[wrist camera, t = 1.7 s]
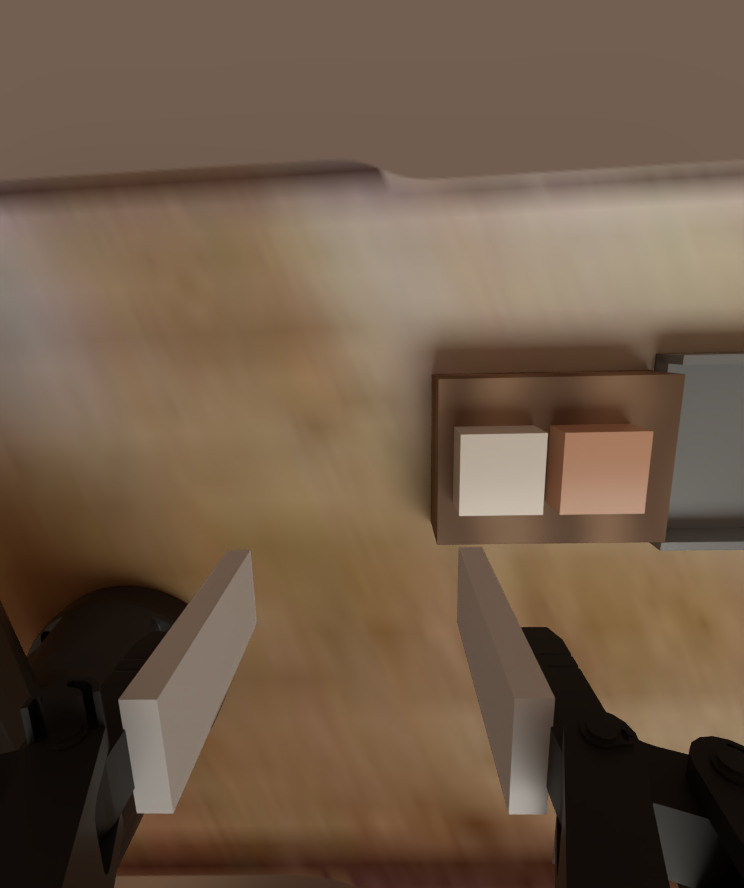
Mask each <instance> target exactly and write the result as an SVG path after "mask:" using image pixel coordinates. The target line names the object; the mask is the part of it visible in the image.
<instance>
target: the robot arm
mask: <svg viewBox="0 0 744 888" xmlns="http://www.w3.org/2000/svg"><path fill="white" fill-rule="evenodd" d="M457 623H458V627H459V631H460V635H461V638H462V642H463V646H464V649H465V653H466V657H467V661H468V664H469V668H470V672H471V676H472V679H473V683H474V687H475V691H476V694H477V698H478V702H479V705H480V709H481V713H482V717H483V720H484V724H485V728H486V732H487V735H488V739H489V743H490V747H491V750H492V754H493V758H494V761H495V765H496V769H497V773H498V776H499V780H500V784H501V788H502V791H503V795H504V799H505V803H506V806H507V810H508V814H547V801H548V793H549V795H550V798H551V801H552V804H553V806H554V809H555V812H556V814H557V816H556V829H555V841H554V854H553V864H555V888H670V885H669V880H670V881H673V882H676V883H677V884H678V886H679V888H744V746H742V745H740V744H738V743H735V742H733V741H731V740H728V739H723V738H719V737H714V736H710V737H699V738H698V739H696V740H695V741H693V742H692V743H691V746H690V750H689V755H688V754H684V753H680V752H676V751H672V750H668V749H664V748H660V747H656V746H653V745H650V744H647V743H644V742H642V741H640V740H638V737H637V735H636V733H635V732H634V731H633V730H632V729H631V728H630V727H629V726H628V725H627V724H626V723H625V722H624V721H622V720H621V719H619V718H617V717H616V716H614V715H613V714H610V713H607V712H606V711H605V710H604V708H603V706H602V705H601V703H600V701H599V700H598V698H597V696H596V695H595V693H594V691H593V690H592V688H591V686H590V685H589V683H588V681H587V680H586V678H585V676H584V675H583V673H582V671H581V670H580V669H579V668H578V665H577V663H576V661H575V660H574V658H573V657H571V653H570V652H569V650H568V648H567V647H566V645H565V643H564V642H563V640H562V639H561V638H560V637H559V636H557V635H556V634H555V633H554V632H552V631H551V630H550V629H549V628H547V627H520V625H519V623H518V621H517V618H516V616H515V614H514V612H513V610H512V608H511V606H510V604H509V602H508V600H507V598H506V596H505V594H504V592H503V590H502V587H501V585H500V583H499V581H498V579H497V577H496V575H495V573H494V571H493V569H492V567H491V565H490V563H489V561H488V559H487V557H486V554H485V552H484V550H483V548H482V547H459V554H458V604H457ZM256 624H257V620H256V608H255V596H254V584H253V573H252V561H251V550H227V552H226V553H225V555H224V556H223V557H222V559H221V560H220V561H219V563H218V564H217V565H216V567H215V568H214V570H213V571H212V572H211V574H210V575H209V576H208V578H207V579H206V581H205V582H204V583H203V585H202V586H201V587H200V589H199V590H198V591H197V593H196V594H195V596H194V597H193V598H192V600H191V601H190V602H189V604H188V605H185V604H184V603H182V602H181V601H179V600H177V599H175V598H173V597H171V596H169V595H166V594H164V593H161V592H158V591H155V590H151V589H147V588H141V587H132V586H118V587H109V588H104V589H100V590H96V591H93V592H91V593H88V594H86V595H84V596H82V597H80V598H78V599H77V600H75V601H74V602H72V603H71V604H70V605H69V606H67V607H66V608H65V609H64V610H63V611H62V612H60V613H59V614H58V615H57V616H56V617H54V618H53V619H52V620H51V621H50V622H49V623H48V624H47V625H46V626H45V627H44V628H43V630H42V631H41V632H40V633H39V635H38V636H37V638H36V639H35V641H34V643H33V645H32V646H31V648H30V650H29V653H28V655H27V657H26V655H25V653H24V651H23V649H22V647H21V645H20V642H19V640H18V638H17V636H16V634H15V631H14V629H13V627H12V625H11V623H10V621H9V618H8V616H7V614H6V612H5V610H4V607H3V605H2V603H1V601H0V888H114V884H115V878H116V873H117V869H118V866H119V864H120V862H121V860H122V858H123V856H124V854H125V852H126V850H127V848H128V846H129V844H130V842H131V840H132V838H133V836H134V833H135V831H136V829H137V827H138V825H139V823H140V821H141V819H142V817H143V815H144V813H174V811H175V808H176V806H177V804H178V801H179V799H180V797H181V795H182V792H183V790H184V788H185V786H186V783H187V781H188V779H189V776H190V774H191V772H192V770H193V767H194V765H195V763H196V761H197V758H198V756H199V754H200V751H201V749H202V747H203V745H204V742H205V740H206V738H207V736H208V733H209V731H210V730H211V728H212V726H213V724H214V722H215V720H216V718H217V716H218V713H219V711H220V709H221V707H222V704H223V702H224V699H225V696H226V693H227V690H228V688H229V686H230V683H231V681H232V679H233V676H234V674H235V672H236V670H237V667H238V665H239V663H240V661H241V658H242V656H243V654H244V651H245V649H246V647H247V645H248V642H249V640H250V638H251V636H252V633H253V631H254V629H255V626H256Z"/></svg>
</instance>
